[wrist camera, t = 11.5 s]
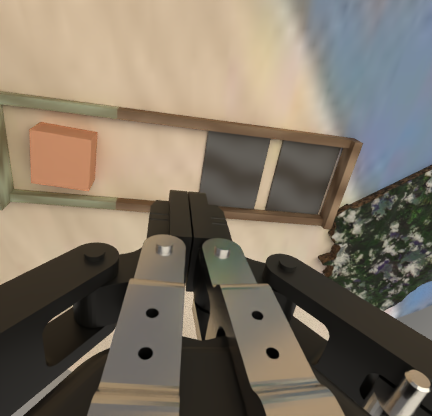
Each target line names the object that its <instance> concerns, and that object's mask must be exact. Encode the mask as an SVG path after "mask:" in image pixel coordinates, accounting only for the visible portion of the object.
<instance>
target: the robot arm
mask: <svg viewBox="0 0 432 416" xmlns="http://www.w3.org/2000/svg"><path fill="white" fill-rule="evenodd" d="M225 219H226V218H225V215H224V212H223V211H222V210H221V209H220V208H219V207H218V206H217V205H208V201H207V196H206V193H199V192H187V191H176V190H170V194H169V201H160V200H156V201H155V202H154V203H153V204H152V205H151V206H150V215H149V223H148V232H147V239H146V240H145V241H144V243H143V246H142V248H140V249H139V250H137V251H134V252H131V253H127V254H120V255H119V253H118V251H117V249H116V248H114V247H113V246H111V245H109V244H105V243H88V244H84V245H81V246H79V247H77V248H75V249H73V250H71V251H69V252H67V253H65V254H63V255H61V256H59V257H56V258H54V259H52V260H50V261H48V262H46V263H44V264H42V265H40V266H38V267H36V268H34V269H32V270H30V271H28V272H26V273H24V274H22V275H20V276H18V277H16V278H14V279H12V280H10V281H8V282H6V283H4V284H2V285H0V416H11V415H12V414H13V413H14V412H16V411H17V410H18V409H19V408H21V407H22V406H23V405H24V404H25V403H27V402H28V401H29V400H30V399H31V398H33V397H34V396H35V395H36V394H37V393H39V392H40V391H41V390H42V389H44V388H45V387H46V386H47V385H48V384H50V383H51V382H52V381H53V380H54V379H56V378H57V377H58V376H59V375H61V374H62V373H63V372H64V371H66V370H67V369H68V368H69V367H70V366H72V365H73V364H74V363H75V362H76V361H78V360H79V359H80V358H81V357H83V356H84V355H85V354H86V353H87V352H89V351H90V350H91V349H92V348H93V347H95V346H96V345H97V344H98V343H99V342H101V341H102V340H103V339H104V338H106V337H107V336H108V335H109V334H110V333H111V332H113V330H114V329H115V328H116V329H115V332H114V336H113V339H112V343H111V346H110V348H108V349H106V350H104V351H102V352H99V353H98V354H96V355H94V356H92V357H91V358H89V359H88V360H86V361H85V362H83V363H82V364H81V365H80V366H78V367H77V368H76V369H75V370H74V371H73V372H72V373H71V374H69V375H68V376H67V377H66V378H65V379H64V380H63V381H62V382H60V383H59V384H58V385H57V386H56V387H55V388H54V389H53V390H52V391H51V392H49V393H48V394H47V395H46V396H45V397H44V398H43V399H41V400H40V401H39V402H38V403H37V404H36V405H35V406H34V407H32V408H31V409H30V410H29V411H28V412H27V413H26V414H25V415H23V416H432V341H431V340H430V339H428V338H426V337H425V336H423V335H421V334H420V333H418V332H416V331H415V330H413V329H412V328H410V327H408V326H407V325H405V324H403V323H402V322H400V321H398V320H397V319H395V318H393V317H392V316H390V315H389V314H387V313H385V312H384V311H382V310H380V309H379V308H377V307H375V306H374V305H372V304H370V303H369V302H367V301H365V300H364V299H362V298H361V297H359V296H357V295H356V294H354V293H352V292H351V291H349V290H347V289H346V288H344V287H342V286H341V285H339V284H338V283H336V282H334V281H333V280H331V279H329V278H328V277H326V276H324V275H323V274H321V273H319V272H318V271H316V270H314V269H313V268H311V267H310V266H308V265H306V264H305V263H303V262H301V261H300V260H298V259H296V258H294V257H292V256H289V255H285V254H274V255H271V256H269V257H268V258H267V260H266V263H262V262H258V261H255V260H251V259H249V258H246V257H245V256H244V253H243V251H242V249H241V247H240V246H239V245H238V244H236V243H235V242H233V241H232V238H231V235H230V232H229V228H228V225H227V222H226V220H225ZM185 283H186V291H189V292H194V299H193V305H192V312H193V317H194V323H195V329H196V334H197V340H196V339H191V338H187V337H183V336H182V329H183V310H184V292H185ZM72 305H73V307H72V308H71V309H69V310H68V311H66V312H65V313H63V314H62V315H60V316H59V317H57V318H55V319H54V320H52V321H51V322H49V321H50V320H51V319H52V318H54V317H55V316H57V315H58V314H60V313H61V312H63V311H64V310H66V309H67V308H69V307H71V306H72ZM296 305H297V306H299V307H300V308H302V309H303V310H305V311H306V312H307V313H309V314H310V315H312V316H313V317H314V318H316V319H317V320H319V321H320V322H322V323H323V324H324V325H325V326H326V328H327V329H328V331H329V340H328V341H327V340H325V339H324V338H322V337H321V336H320V335H318V334H317V333H316V332H314V331H313V330H311V329H310V328H309V327H307V326H306V325H305V324H303V323H302V322H301V321H299V320H298V319H296V318H295V317H294V316H293V313H294V310H295V307H296ZM48 322H49V323H48Z"/></svg>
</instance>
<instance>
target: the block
mask: <svg viewBox="0 0 432 416" xmlns="http://www.w3.org/2000/svg"><path fill="white" fill-rule="evenodd" d="M29 132H30V162H31V183H35V184H42V185H49V186H56V187H63V188H70V189H77V190H84V191H89V190H90V188H91V186H92V184H93V182H94V180H95V164H96V148H97V132H93V131H87V130H82V129H76V128H71V127H65V126H60V125H54V124H49V123H43V122H40V123H38V124H37V125H35V126H34V127H32V128H31V129H29Z"/></svg>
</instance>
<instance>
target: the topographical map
mask: <svg viewBox="0 0 432 416" xmlns="http://www.w3.org/2000/svg"><path fill="white" fill-rule="evenodd" d="M328 233H329V235H330V236H331V239H332V241H333V242H334V243H335V244H334V245H333V246H332V247H331V249H332V251H331V252H330V253H326V254H323V255H320V256H318V258H319V259H320V261H321V262H322V264H323V265H327V267H326V269H325V270H324V271H323V273H324V275H325V276H326V277H328V278H329V279H331V280H333V281H334V282H336V283H338V284H339V285H341V286H342V287H344V288H346V289H347V290H349V291H351V292H352V293H354V294H356V295H357V296H359V297H361V298H362V299H364V300H365V301H367V302H369V303H370V304H372V305H374V306H375V307H377V308H379V309H380V310H382V311H384V310H386V309H388V308H390V307H393V306H395V305H396V304H397V303H399V302H401V301H402V300H403V299H404V298H405V297H406V296H407V295H408V294H409V293H410V292H412V291H414V290H415V289H416V288H417V287H419V286H420V285H422V284H424V283H427V282H429V281H432V165H430V166H428V167H426V168H424V169H422V170H420V171H418V172H416V173H414V174H412V175H410V176H408V177H406V178H404V179H402V180H399V181H397V182H395V183H393V184H391V185H389V186H387V187H385V188H383V189H381V190H379V191H377V192H375V193H373V194H371V195H369V196H367V197H365V198H363V199H361V200H359V201H356V202H354V203H352V204H350V205H348V204H346V205H344V206H342V207H341V208H339V209H338V211H337V214H336V217H335V219H334V222H333V225H332V227H331V230H330V231H329V232H328Z"/></svg>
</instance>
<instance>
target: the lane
mask: <svg viewBox="0 0 432 416" xmlns="http://www.w3.org/2000/svg"><path fill="white" fill-rule="evenodd" d="M2 104H3V105H11V106H19V107H27V108H34V109H42V110H50V111H58V112H66V113H74V114H82V115H90V116H97V117H105V118H113V119H121V120H129V121H137V122H145V123H153V124H160V125H168V126H176V127H184V128H192V129H200V130H208V137H207V143H206V150H205V157H204V164H203V171H202V177H201V184H200V191H199V193H206V196H207V201H208V205H217V206H218V207H219V208H220V209H221V210H222V211H223V212H224V215H225V218H228V219H241V220H254V221H267V222H280V223H293V224H305V225H318V226H322V227H323V228H324V229H331V227H332V225H333V222H334V219H335V217H336V214H337V211H338V209H339V206H340V203H341V201H342V198H343V195H344V193H345V190H346V187H347V185H348V182H349V179H350V177H351V174H352V171H353V169H354V166H355V163H356V161H357V158H358V155H359V153H360V150H361V148H362V145H363V143H361V142H360V141H358V140H356V139H354V138H347V137H339V136H332V135H324V134H317V133H310V132H302V131H295V130H287V129H280V128H272V127H265V126H257V125H250V124H242V123H235V122H227V121H220V120H212V119H205V118H197V117H190V116H182V115H175V114H167V113H160V112H152V111H145V110H137V109H130V108H122V107H115V106H107V105H100V104H92V103H85V102H77V101H70V100H62V99H55V98H47V97H40V96H32V95H25V94H18V93H10V92H3V91H0V210H3V209H4V208H5V207H6V206H7V205H8V204H9V203H10V202H21V203H34V204H47V205H60V206H72V207H85V208H98V209H111V210H124V211H137V212H150V206H151V205H152V204H153V203H154V202H155V201H148V200H136V199H124V198H112V197H100V196H88V195H76V194H65V193H53V192H41V191H29V190H17V189H14V186H13V179H12V172H11V165H10V158H9V151H8V144H7V137H6V130H5V123H4V116H3V109H2ZM271 139H279V140H283V143H282V147H281V150H280V154H279V158H278V162H277V166H276V170H275V174H274V178H273V181H272V185H271V189H270V193H269V197H268V201H267V205H266V209H265V210H255V209H254V206H255V202H256V198H257V194H258V190H259V185H260V181H261V177H262V173H263V169H264V165H265V160H266V156H267V152H268V148H269V144H270V140H271ZM341 147H342V148H343V150H342V153H341V156H340V159H339V162H338V164H337V167H336V170H335V173H334V176H333V179H332V182H331V185H330V187H329V190H328V193H327V196H326V199H325V202H324V205H323V207H322V210H321V213H320V215H315V214H318V212H319V209H320V206H321V203H322V200H323V198H324V195H325V192H326V189H327V186H328V183H329V180H330V177H331V174H332V171H333V169H334V166H335V163H336V160H337V157H338V154H339V151H340V148H341ZM220 206H223V207H220ZM232 207H235V208H232ZM243 208H247V209H243ZM267 210H270V211H267ZM279 211H282V212H279ZM291 212H294V213H291ZM303 213H306V214H303Z"/></svg>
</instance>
